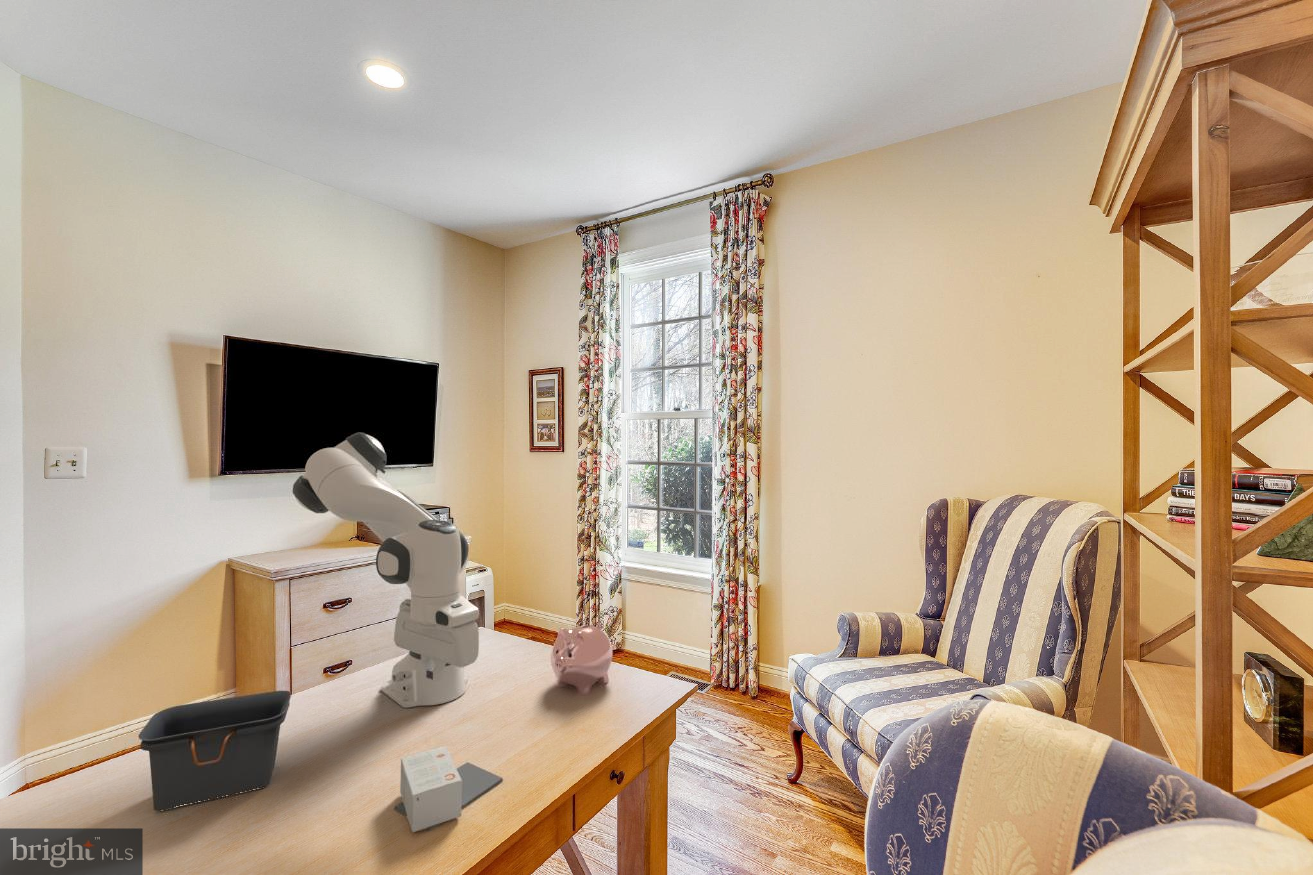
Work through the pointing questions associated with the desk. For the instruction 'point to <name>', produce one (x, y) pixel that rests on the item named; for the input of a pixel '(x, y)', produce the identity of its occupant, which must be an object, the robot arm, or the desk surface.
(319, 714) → the desk surface
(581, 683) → the piggy bank
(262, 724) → the storage bin
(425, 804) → the small box
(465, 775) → the mat
